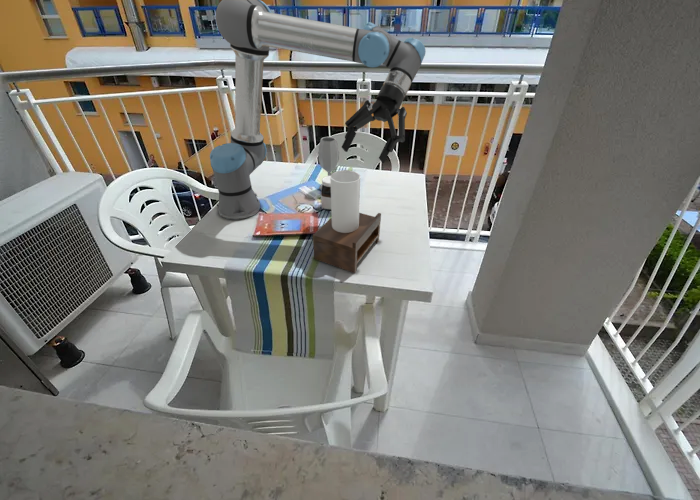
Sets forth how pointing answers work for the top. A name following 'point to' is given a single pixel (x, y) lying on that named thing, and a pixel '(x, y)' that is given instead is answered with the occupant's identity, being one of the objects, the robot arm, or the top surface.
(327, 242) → the small wooden box
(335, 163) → the wineglass
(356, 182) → the cup
